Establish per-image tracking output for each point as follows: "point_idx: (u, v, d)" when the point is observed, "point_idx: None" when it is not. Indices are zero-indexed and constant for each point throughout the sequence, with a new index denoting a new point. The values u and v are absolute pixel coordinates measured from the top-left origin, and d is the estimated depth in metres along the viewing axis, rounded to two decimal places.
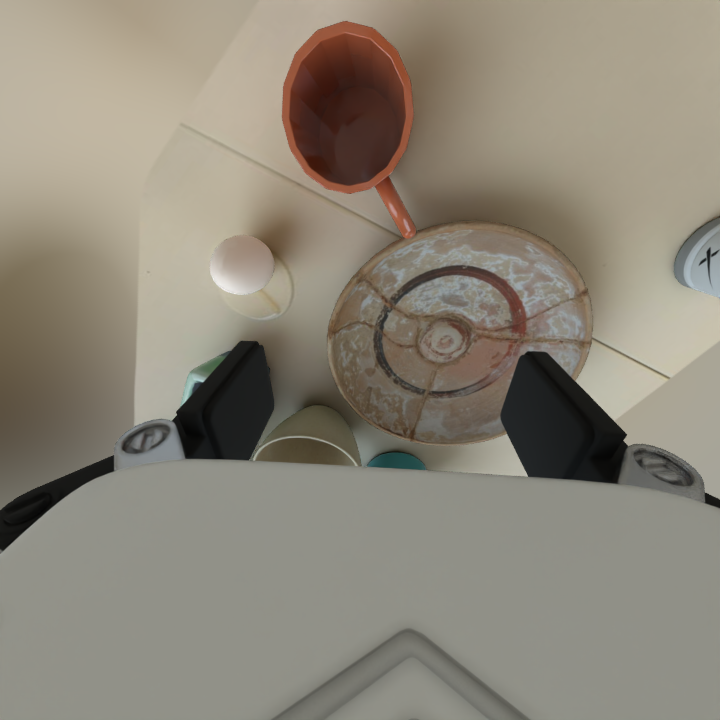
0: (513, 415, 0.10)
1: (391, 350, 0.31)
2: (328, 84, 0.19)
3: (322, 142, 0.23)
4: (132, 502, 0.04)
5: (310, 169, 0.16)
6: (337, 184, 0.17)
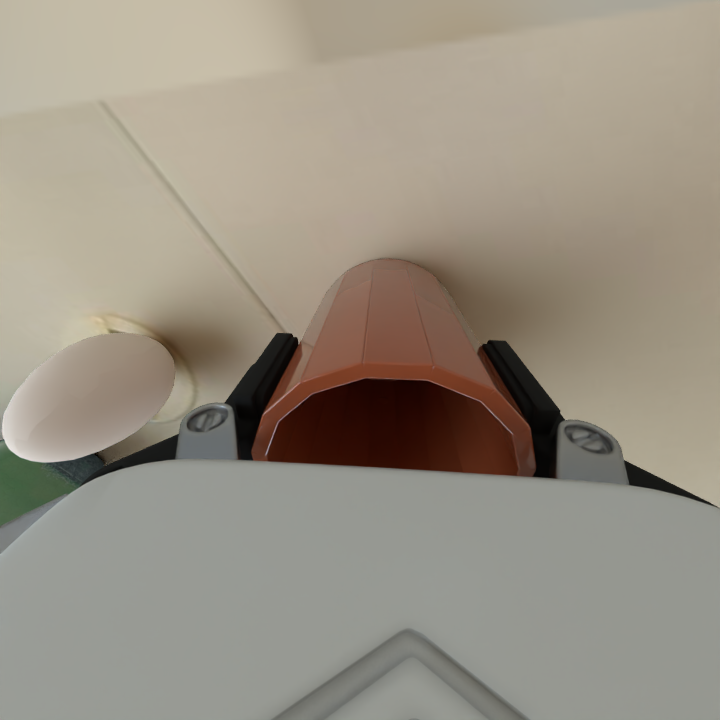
0: None
1: None
2: None
3: None
4: (132, 502, 0.04)
5: None
6: None
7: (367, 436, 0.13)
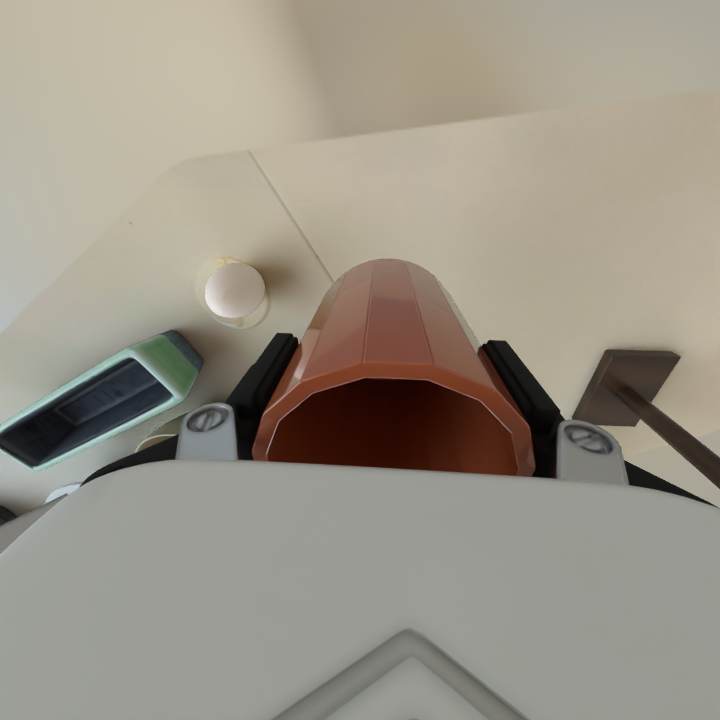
0: None
1: None
2: None
3: None
4: (132, 502, 0.04)
5: None
6: None
7: (367, 436, 0.13)
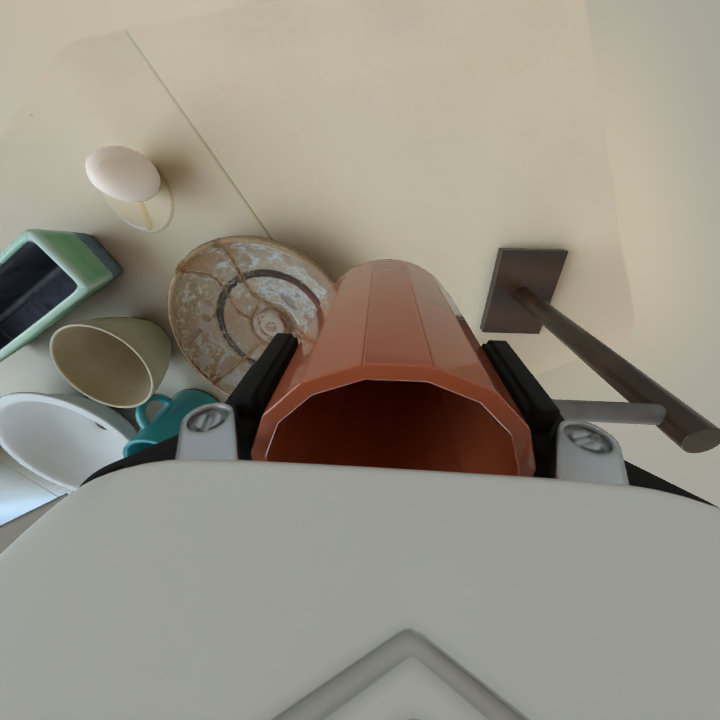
0: None
1: (230, 311, 0.38)
2: None
3: None
4: (132, 502, 0.04)
5: None
6: None
7: (367, 437, 0.13)
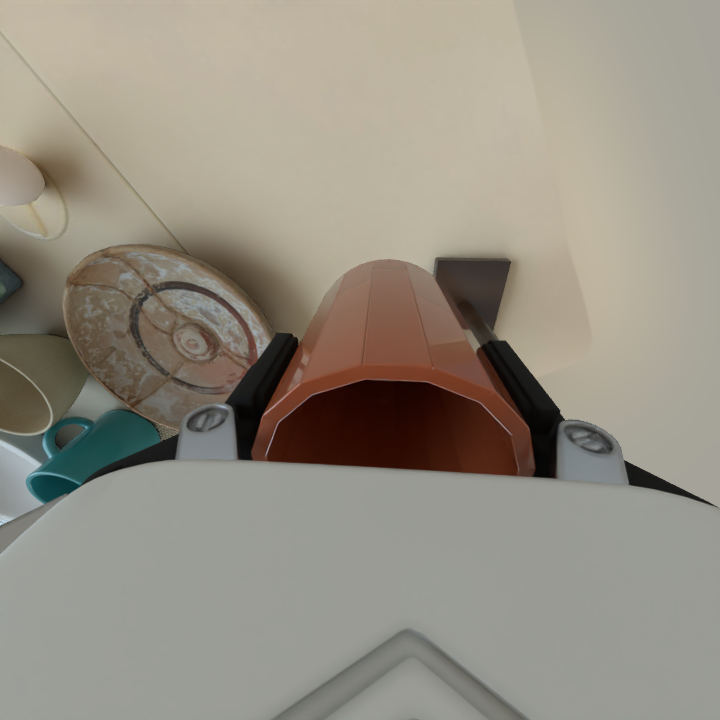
0: None
1: (146, 327, 0.34)
2: None
3: None
4: (132, 502, 0.04)
5: None
6: None
7: (367, 437, 0.13)
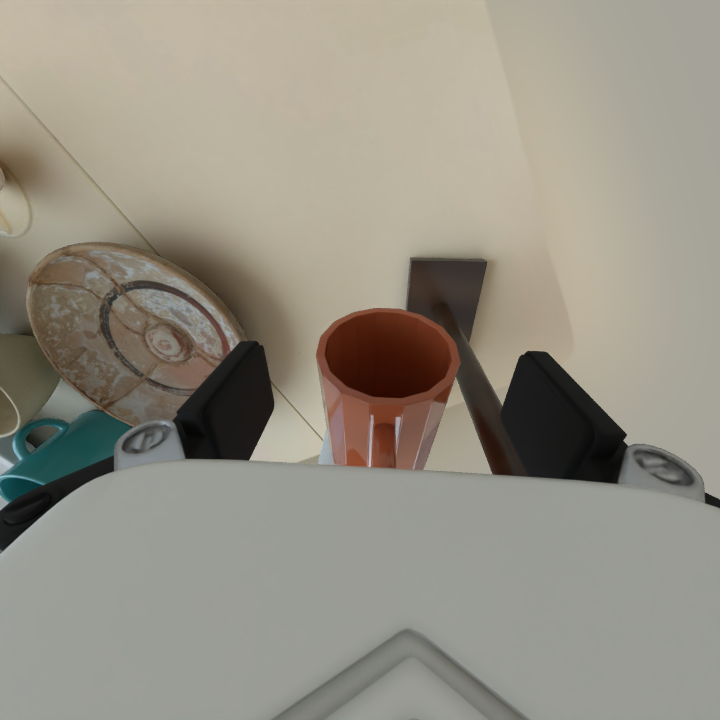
0: (513, 415, 0.10)
1: (117, 327, 0.33)
2: (382, 376, 0.20)
3: None
4: (132, 502, 0.04)
5: (323, 355, 0.14)
6: (337, 378, 0.13)
7: None
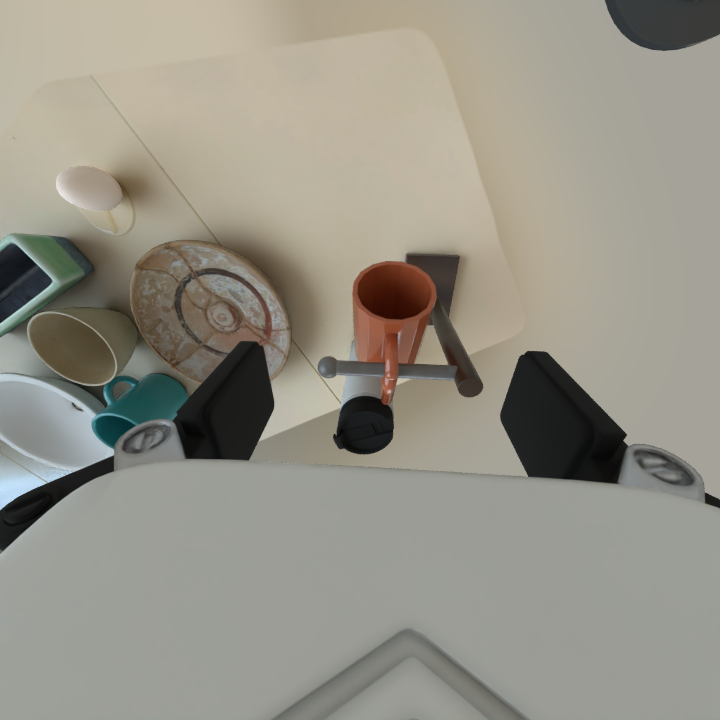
0: (514, 415, 0.10)
1: (186, 303, 0.45)
2: (389, 305, 0.30)
3: None
4: (132, 502, 0.04)
5: (356, 294, 0.24)
6: (366, 308, 0.23)
7: None
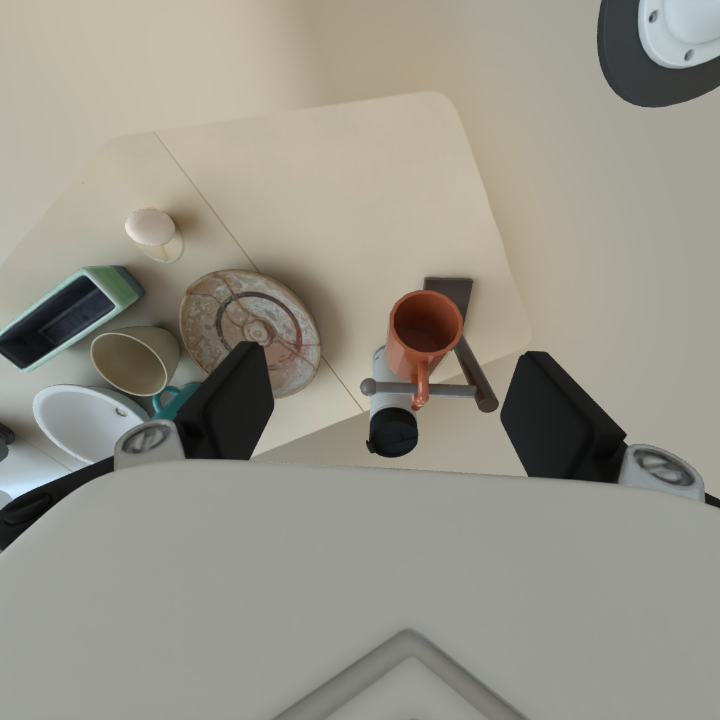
0: (513, 415, 0.10)
1: (226, 322, 0.50)
2: (416, 318, 0.33)
3: None
4: (132, 502, 0.04)
5: (393, 327, 0.27)
6: (402, 342, 0.27)
7: None
